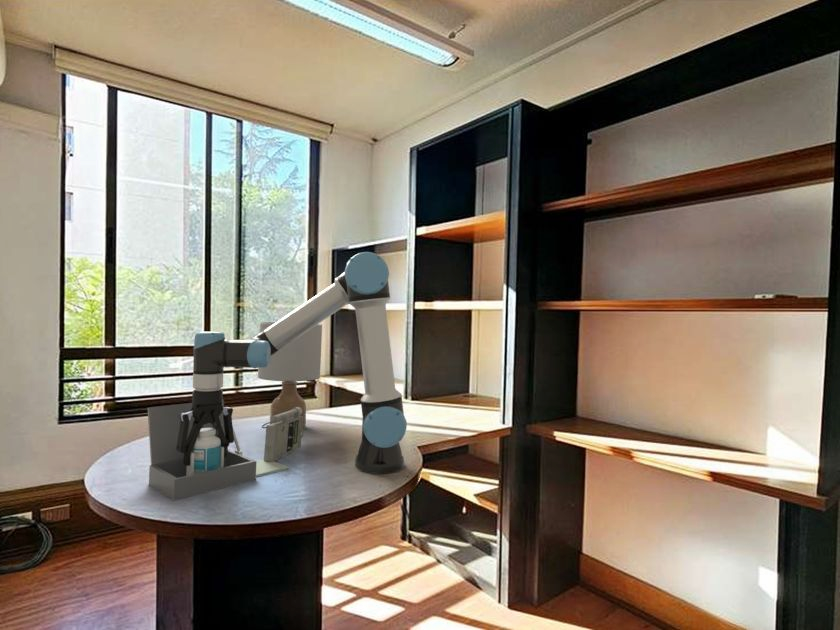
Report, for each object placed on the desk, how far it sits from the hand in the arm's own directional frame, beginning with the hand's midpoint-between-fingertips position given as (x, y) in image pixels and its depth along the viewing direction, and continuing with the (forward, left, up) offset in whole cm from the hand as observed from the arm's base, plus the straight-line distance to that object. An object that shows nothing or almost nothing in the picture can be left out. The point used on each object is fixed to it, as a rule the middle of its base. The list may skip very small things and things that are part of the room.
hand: (205, 473), depth 129 cm
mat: (0, -17, -2) cm, 17 cm away
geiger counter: (+9, -31, -2) cm, 32 cm away
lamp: (+37, -51, -3) cm, 63 cm away
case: (+2, 0, -2) cm, 3 cm away
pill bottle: (0, 0, -2) cm, 2 cm away
